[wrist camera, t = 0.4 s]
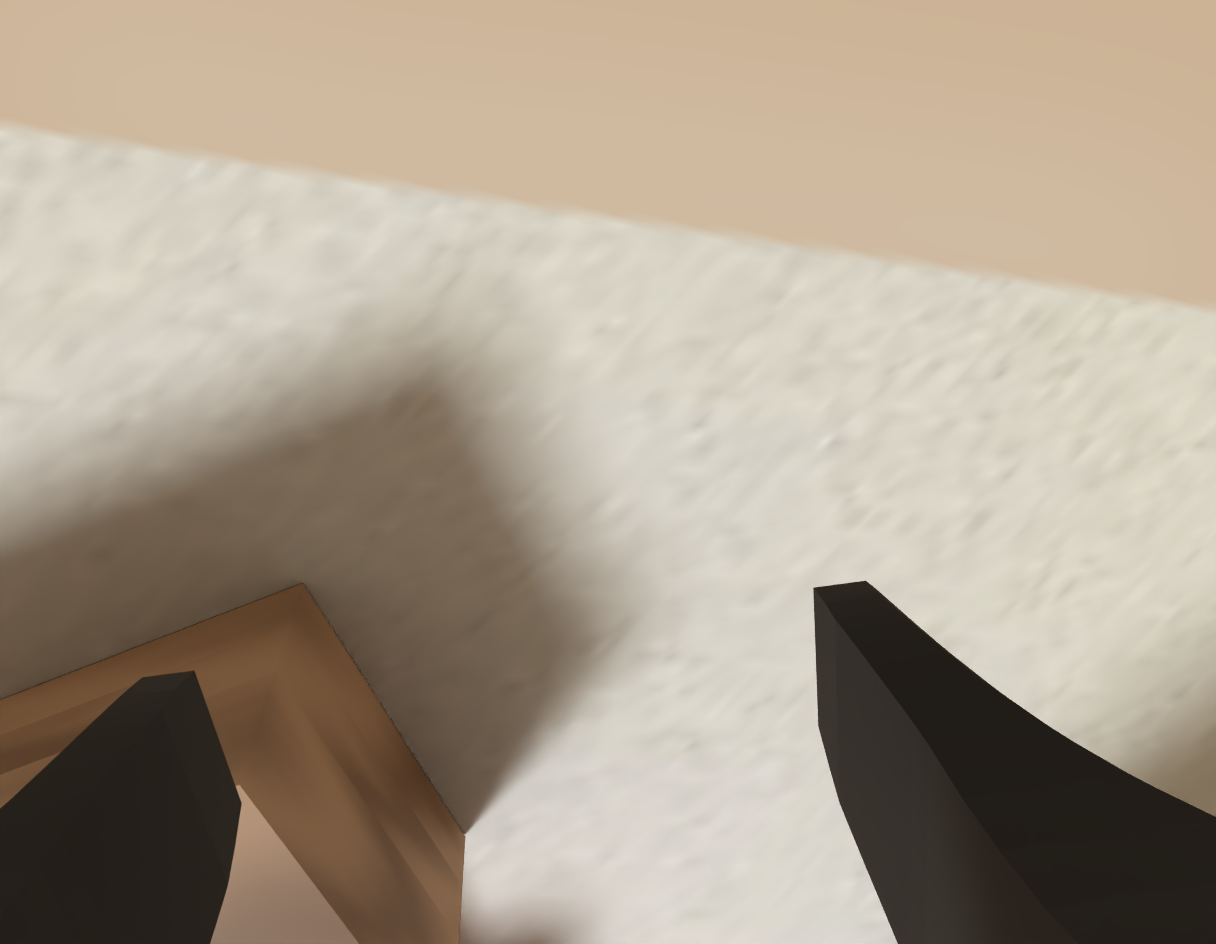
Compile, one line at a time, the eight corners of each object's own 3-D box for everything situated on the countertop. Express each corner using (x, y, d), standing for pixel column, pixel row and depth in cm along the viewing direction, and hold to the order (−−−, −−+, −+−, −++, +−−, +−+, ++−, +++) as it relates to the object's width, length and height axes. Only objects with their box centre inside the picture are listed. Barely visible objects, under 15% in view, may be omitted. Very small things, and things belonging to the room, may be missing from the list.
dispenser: (467, 839, 27) (450, 1114, 21) (38, 989, 29) (-94, 1288, 22) (303, 582, 24) (226, 825, 17) (-181, 769, 25) (-407, 1054, 19)
